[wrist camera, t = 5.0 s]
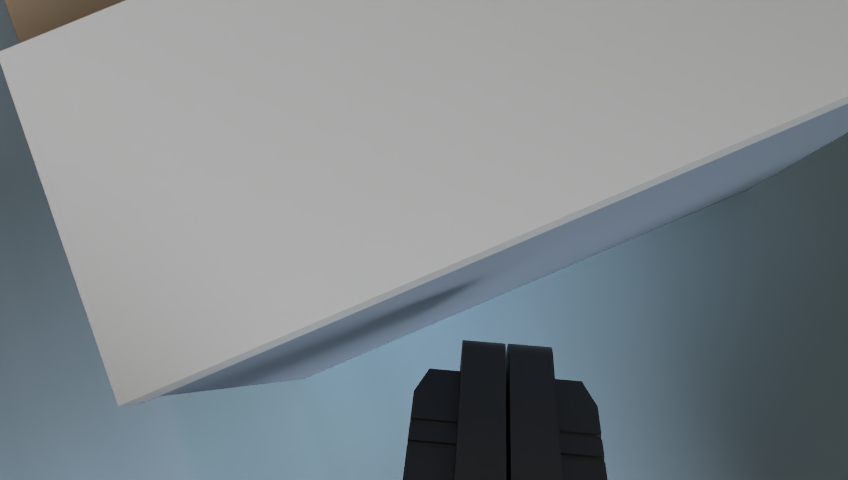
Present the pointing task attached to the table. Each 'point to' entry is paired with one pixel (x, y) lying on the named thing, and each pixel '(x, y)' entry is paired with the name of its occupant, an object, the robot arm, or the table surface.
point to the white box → (389, 158)
